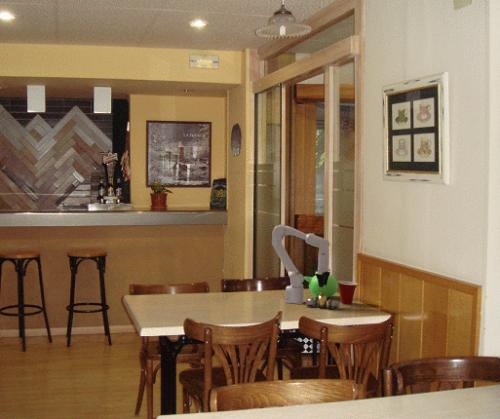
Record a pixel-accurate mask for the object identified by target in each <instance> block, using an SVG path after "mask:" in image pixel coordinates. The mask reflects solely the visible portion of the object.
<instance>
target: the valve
mask: <svg viewBox="0 0 500 419" xmlns="http://www.w3.org/2000/svg"><path fill="white" fill-rule="evenodd" d="M320 294H321V295H320V296H318V297H317V299H318V303H317V306H318V308H327V307H328V303H327V301H328V300H327V299H328V297H327V296H324V295H325V294H326V293H320Z"/></svg>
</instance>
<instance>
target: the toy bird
mask: <svg viewBox="0 0 500 419" xmlns="http://www.w3.org/2000/svg"><path fill="white" fill-rule="evenodd" d="M316 274H318V270H317V271H315V275H314V276H303V277H304V280H305V281H306V282H308V283H309V284H308V289H309V292H310V293H311V294H312V296H315V298H318V296H320V295H321V294H320V293H326V294H325V295H324V296H327V298H330V297H332V296H334V295H335V294H336V293H337V292H338V290H339V284H338V281H337V279H336V277H335V276H333V275H332V274H330V275H329V277H328V281H327V285H323V287H319V284H318V279H317V277H316Z"/></svg>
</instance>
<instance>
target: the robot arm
mask: <svg viewBox="0 0 500 419" xmlns="http://www.w3.org/2000/svg"><path fill="white" fill-rule="evenodd" d="M271 236H272V238H271V245H272V247H273V248H274V250H275V252H276V254H277V256H278V257H279V259H280V261H281V264H282V265H283V267H284V268H285V269H286V272H287V274H288V277H289V280H290V281H289V283H290V285H287V286H286V287H285V301H284V302H285V303H286V304H297V305H298V304H300V305H302V304H304V303H306V300H304V284H303V283H304V280H305V279H304V277H305V276H304V275H303V274H302V273H300V271H299V270H298V269H297V268H296V266H295V264H294V263H293V261H292V259H291V257H290V255H289V254H288V252H287V250H286V248H285V247H284V245H283V240H284V237H285V236H293V237H294V236H295V237H296V238H299V239H302V240H304V241H305V243H306V244H308V245H311V246H312V247H316V248H318V257H317V258H318V261H317V262H318V263H317V271H318V274H316V273H315V275H316V277H317V279H318V284H319V287H323V285H327V281H328V277H329V275H331V269H329V268H330V267H329V263H330V249H329V248H330V241H329V240H328V239H327V238H323V237H322V236H321V237H320V236H318V235H315V233H314V232H312V233H310V232H309V233H304V232H303V231H301V230H298V229H296V228H294V227H291V226H288V225H285V224H278V225H276V226H275V227H274V228H273V230H272V232H271Z"/></svg>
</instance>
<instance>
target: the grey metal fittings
mask: <svg viewBox="0 0 500 419" xmlns="http://www.w3.org/2000/svg"><path fill="white" fill-rule="evenodd" d="M327 301H328V303H327V308H320V309H319V310H330V309H331V310H332V309H333V311H338V310H339V309H340V301H339V300H334V299H332V298H329V299H328V300H327ZM305 304H306V308H309V309H311V308H315V309H316V308H318V297H314V298H311V297H306V300H305ZM328 308H329V309H328ZM337 309H338V310H337Z"/></svg>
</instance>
